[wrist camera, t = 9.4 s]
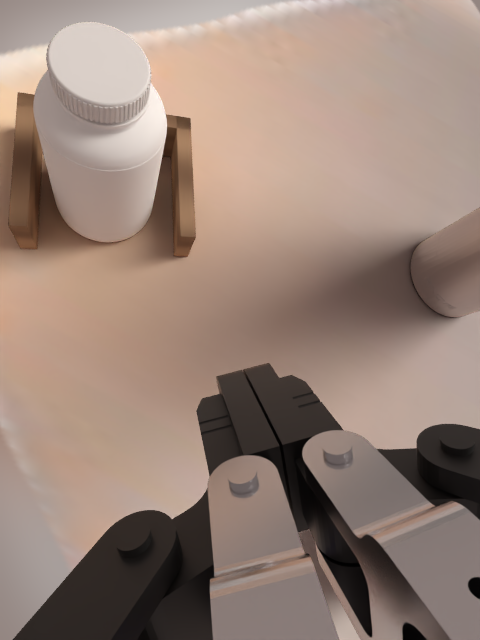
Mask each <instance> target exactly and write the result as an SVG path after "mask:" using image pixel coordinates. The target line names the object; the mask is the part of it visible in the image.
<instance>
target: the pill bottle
mask: <svg viewBox="0 0 480 640" xmlns="http://www.w3.org/2000/svg"><path fill="white" fill-rule="evenodd" d="M46 55H47V57H46V60H47V67H48V70H47V72H46V73H45V74H44V75H43V77H42V78H41V80H40V82H39V84H38V86H37V89H36V92H35V97H34V103H33V110H34V118H35V122H36V127H37V131H38V135H39V139H40V143H41V147H42V150H43V154H44V158H45V162H46V166H47V170H48V174H49V178H50V182H51V186H52V190H53V194H54V198H55V202H56V206H57V208H58V210H59V212H60V214H61V216H62V218H63V219H64V221H65V222H66V223H67V224H68V225H69V226H70V227H71V228H72V229H73V230H74V231H75V232H77V233H78V234H80V235H82V236H84V237H86V238H88V239H91V240H95V241H99V242H117V241H122V240H125V239H128V238H130V237H132V236H134V235H135V234H136V233H138V232H139V231H140V230H141V229H142V228H143V227H144V226H145V224H146V223H147V221H148V219H149V217H150V214H151V212H152V207H153V202H154V197H155V192H156V187H157V181H158V176H159V171H160V166H161V161H162V155H163V150H164V145H165V140H166V134H167V118H166V113H165V109H164V106H163V103H162V101H161V98H160V96H159V94H158V93H157V91H156V89H155V88H154V87H153V85H152V84H151V68H150V64H149V62H148V59H147V57H146V55H145V53H144V52H143V50H142V49H141V47H140V46H139V45H138V44H137V43H136V42H135V41H134V40H133V39H132V38H131V37H130V36H128V35H127V34H126V33H124V32H122V31H121V30H119V29H116V28H114V27H112V26H109V25H105V24H102V23H95V22H81V23H75V24H72V25H69V26H67V27H65V28H63V29H62V30H60V31H59V32H58V33H57V34H56V35H55V36H54V37H53V39H52V40H51V41H50V44H49V46H48V49H47V54H46Z"/></svg>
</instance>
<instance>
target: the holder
mask: <svg viewBox="0 0 480 640" xmlns="http://www.w3.org/2000/svg"><path fill="white" fill-rule="evenodd" d="M34 97H35V95H33V94H26V93H19V92H18V97H17V111H16V125H15V139H14V153H13V167H12V181H11V194H10V208H9V222H8V226H9V228H10V229H11V231H12V233H13V235H14V237H15V239H16V241H17V243H18V244H19V246H20V248H25V249H37V243H38V224H39V205H40V186H41V168H42V147H41V143H40V139H39V135H38V131H37V127H36V122H35V118H34V110H33V103H34ZM166 118H167V134H166V140H165V145H164V150H163V155H162V156H167V157H171V175H172V207H173V239H174V256H185V257H188V254H189V252H190V250H191V247H192V245H193V242H194V240H195V238H196V233H195V211H194V189H193V167H192V145H191V123H190V118H186V117H179V116H172V115H166Z"/></svg>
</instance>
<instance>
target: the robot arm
mask: <svg viewBox="0 0 480 640" xmlns="http://www.w3.org/2000/svg"><path fill="white" fill-rule="evenodd" d="M411 276H412V280H413V283H414V286H415V288H416V290H417V292H418V294H419V295H420V297H421V298H422V299H423V301H424V302H425V303H426V304H427V305H428V306H429V307H430V308H431V309H433V310H434V311H436V312H437V313H439V314H442V315H444V316H448V317H462V316H465V315H468V314H471V313H474V312H477V311H480V207H479V208H478V209H476V210H474V211H473V212H471V213H469V214H468V215H466V216H464V217H463V218H461V219H459V220H458V221H456V222H454V223H453V224H451V225H449V226H447V227H446V228H444V229H442V230H441V231H439V232H437V233H436V234H434V235H433V236H431V237H429V238H428V239H426V240H424V241H423V242H421V243H420V244H419V245H418V246H417V247H416V249H415V251H414V253H413V255H412V259H411ZM216 378H217V383H218V388H219V393H220V394H218V395H214V396H210V397H206V398H203V399H202V400H201V402H200V404H199V406H198V409H197V416H198V421H199V426H200V431H201V435H202V440H203V445H204V450H205V455H206V460H207V465H208V470H209V476H210V478H209V481H208V488H207V490H206V492H205V494H204V495H203V496H202V498H201V499H200V500H199V501H198V502H197V503H196V504H195V505H194V506H192V507H191V508H190V509H188V510H187V511H185V512H184V513H182V514H180V515H178V516H177V517H175V518H173V519H171V518H170V517H169V516H168V515H166V514H165V513H162V512H160V511H155V510H146V511H140V512H136V513H133V514H130V515H128V516H126V517H124V518H122V519H121V520H119V521H118V522H116V523H115V524H114V525H113V526H111V527H110V528H109V529H108V530H107V531H106V532H105V534H104V535H103V536H102V537H101V538H100V539H99V540H98V542H97V543H96V544H95V545H94V546H93V547H92V549H91V550H90V551H89V552H88V553H87V554H86V556H85V557H84V558H83V559H82V560H81V561H80V562H79V564H78V565H77V566H76V567H75V568H74V569H73V571H72V572H71V573H70V574H69V575H68V576H67V577H66V579H65V580H64V581H63V582H62V583H61V585H60V586H59V587H58V588H57V589H56V590H55V591H54V593H53V594H52V595H51V596H50V597H49V598H48V599H47V601H46V602H45V603H44V604H43V605H42V606H41V608H40V609H39V610H38V611H37V612H36V614H35V615H34V616H33V617H32V618H31V619H30V621H28V623H27V624H26V625H25V626H24V627H23V628H22V630H21V631H20V632H19V633H18V634H17V636H16V637H15V638H14V639H13V640H339V637H338V635H337V632H336V629H335V626H334V623H333V620H332V617H331V614H330V611H329V608H328V605H327V602H326V599H325V596H324V593H323V590H322V587H321V584H320V582H319V579H318V576H317V573H316V570H315V567H314V564H313V562H312V559H311V557H310V555H309V554H305V552H304V549H303V546H302V543H301V540H300V537H299V534H298V532H300V531H303V530H306V529H310V531H311V533H312V535H313V538H314V540H315V546H316V552H317V558H318V561H319V564H320V566H321V567H322V569H323V571H324V573H325V575H326V577H327V579H328V580H329V582H330V584H331V586H332V588H333V590H334V591H335V593H336V595H337V597H338V599H339V601H340V603H341V604H342V606H343V608H344V610H345V612H346V614H347V615H348V617H349V619H350V621H351V623H352V625H353V627H354V628H355V630H356V632H357V634H358V636H359V638H360V639H361V640H480V429H476V428H472V427H468V426H463V425H457V424H440V425H435V426H432V427H429V428H427V429H425V430H424V431H422V432H421V433H420V434H419V436H418V438H417V448H414V449H393V450H383V449H376V448H375V447H374V446H373V445H372V444H371V443H370V442H369V441H367V440H366V439H365V438H364V437H362V436H360V435H358V434H356V433H353V432H349V431H344V430H343V429H342V428H341V426H340V425H339V424H338V423H337V421H336V420H335V419H334V418H333V416H332V415H331V414H330V412H329V411H328V410H327V409H326V407H325V406H324V405H323V404H322V402H320V400H319V398H318V397H317V396H316V395H315V394H314V393H313V391H312V390H311V388H310V387H309V386H308V384H307V383H306V382H305V381H303V380H301V379H299V378H297V377H294V376H292V375H290V376H286V377H282V378H279V377H278V376H277V374H276V373H275V371H274V370H273V368H272V367H271V365H270V364H269V363H267V364H263V365H259V366H255V367H251V368H247V369H244V370H243V371H242V370H240V371H236V372H232V373H228V374H224V375H220V376H216Z"/></svg>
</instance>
